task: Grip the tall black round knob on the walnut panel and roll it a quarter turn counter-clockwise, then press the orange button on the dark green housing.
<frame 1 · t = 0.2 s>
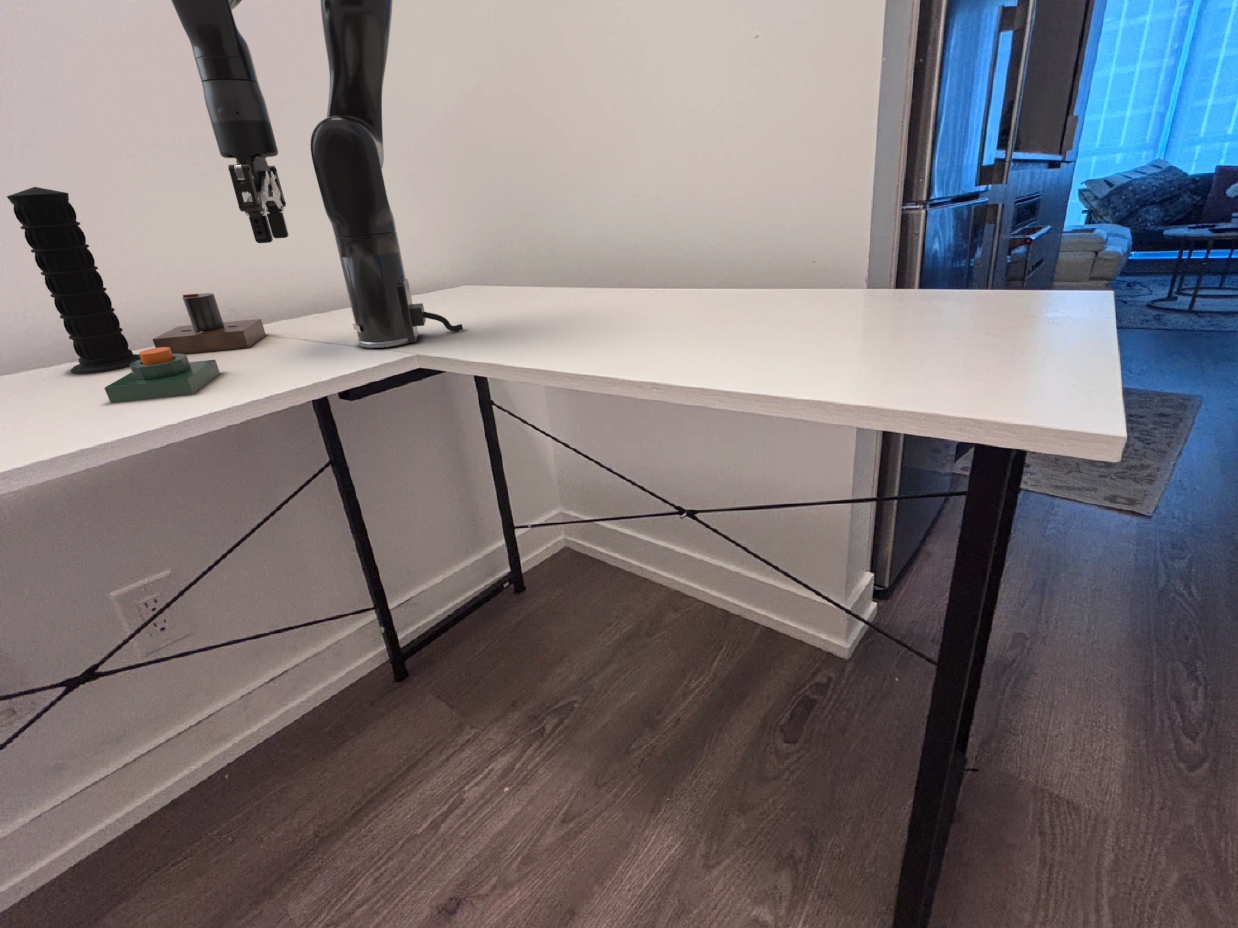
hand: (273, 240, 95), 17 cm above the table, tool pointing down, fingers open, 8 cm apart
panel: (215, 345, 110), on the table
handle grip: (110, 366, 101), on the table
button: (156, 356, 85), point 4 cm above the table, slide at 0.1 cm
dial: (203, 311, 107), point 6 cm above the table, hinge at 0.0°
button box: (168, 387, 87), on the table
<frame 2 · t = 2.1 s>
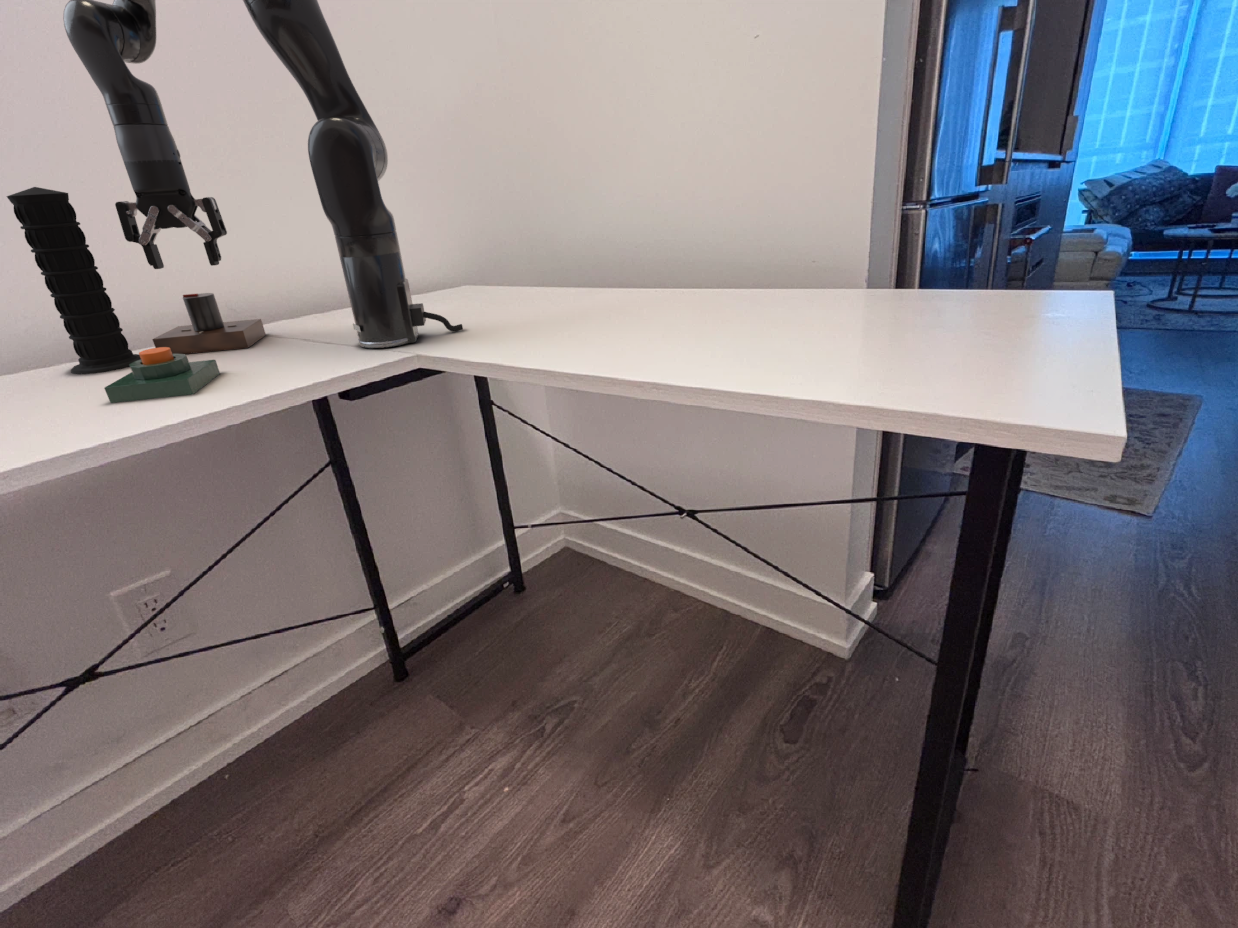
hand: (187, 266, 104), 13 cm above the table, tool pointing down, fingers open, 8 cm apart
nothing on the table moved.
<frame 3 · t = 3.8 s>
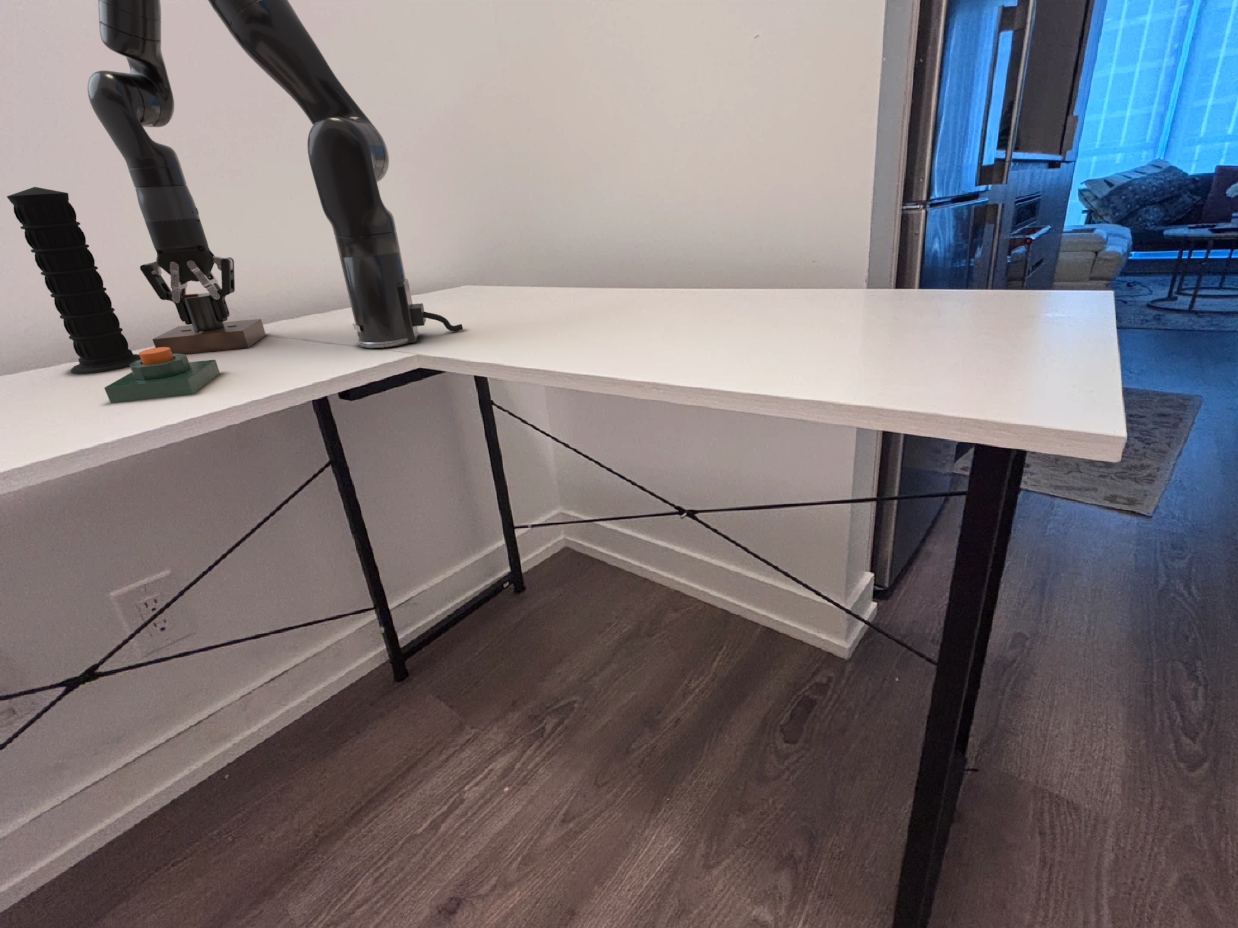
hand: (207, 321, 108), 4 cm above the table, tool pointing down, fingers closed on dial, 4 cm apart
dial: (203, 311, 107), point 6 cm above the table, hinge at -0.1°, touching gripper
everything else where it was.
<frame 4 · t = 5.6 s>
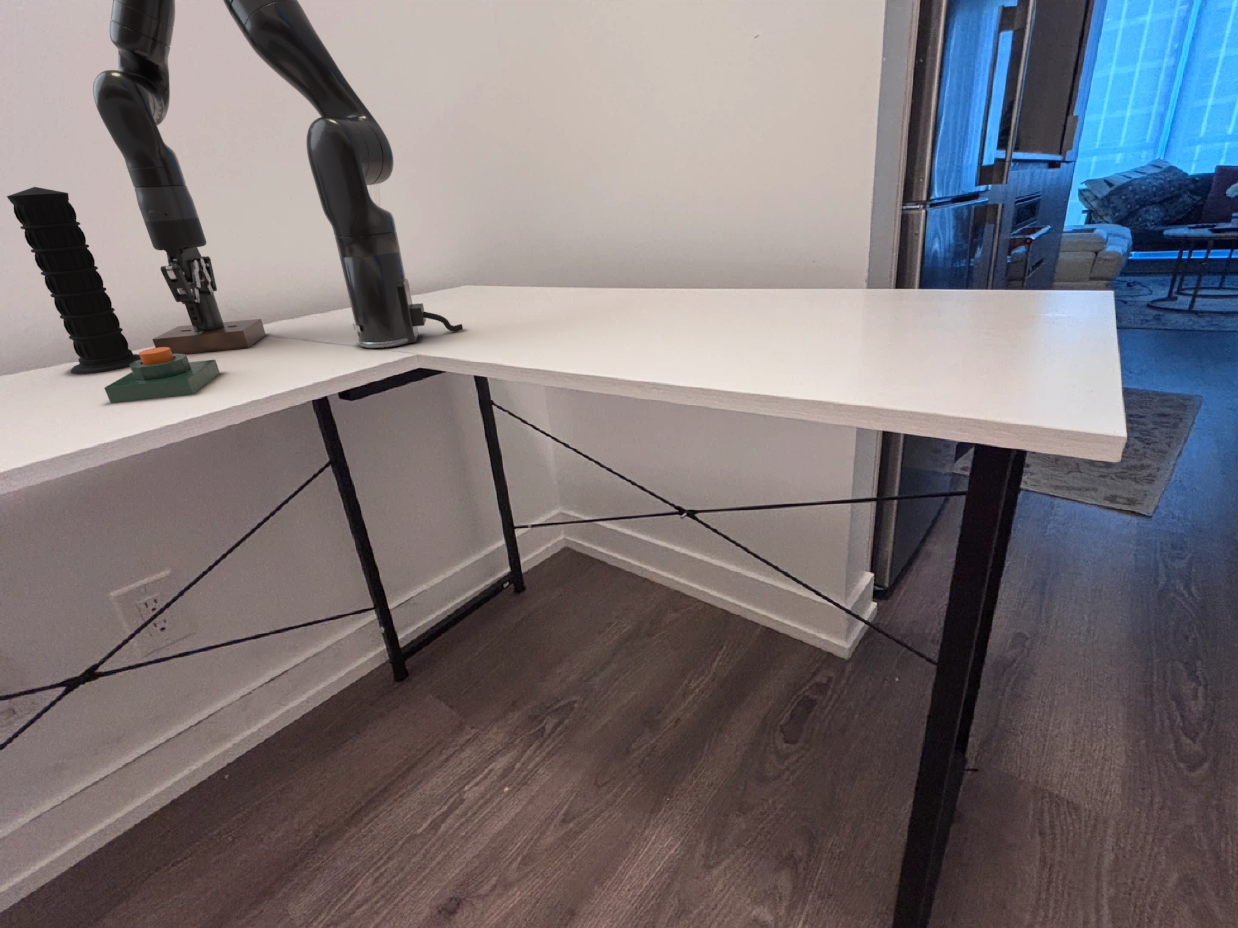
hand: (206, 321, 108), 4 cm above the table, tool pointing down, fingers closed on dial, 4 cm apart
dial: (203, 311, 107), point 6 cm above the table, hinge at 92.3°, touching gripper
everything else where it was.
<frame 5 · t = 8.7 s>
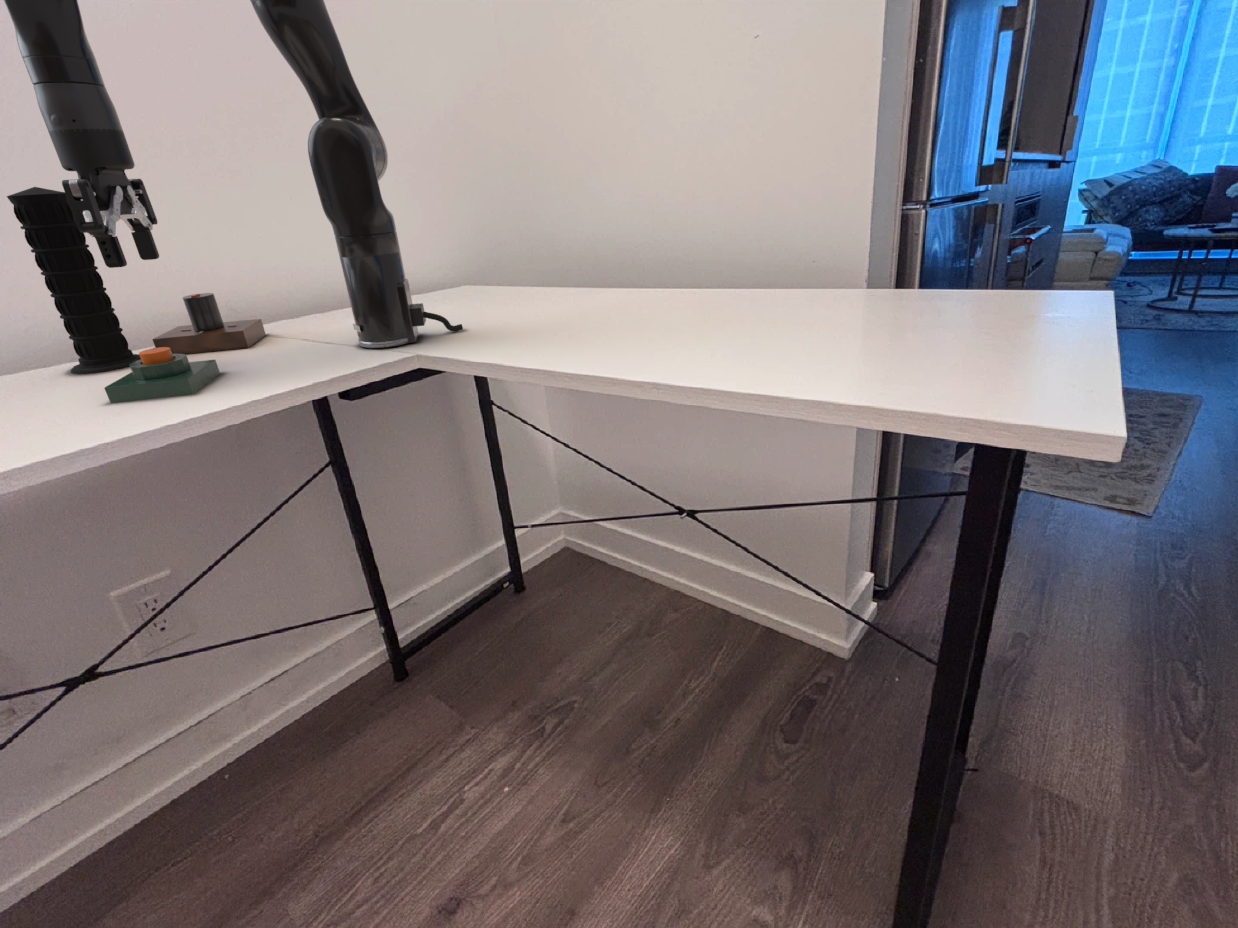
hand: (135, 262, 85), 16 cm above the table, tool pointing down, fingers open, 8 cm apart
dial: (203, 311, 107), point 6 cm above the table, hinge at 91.3°
everything else where it was.
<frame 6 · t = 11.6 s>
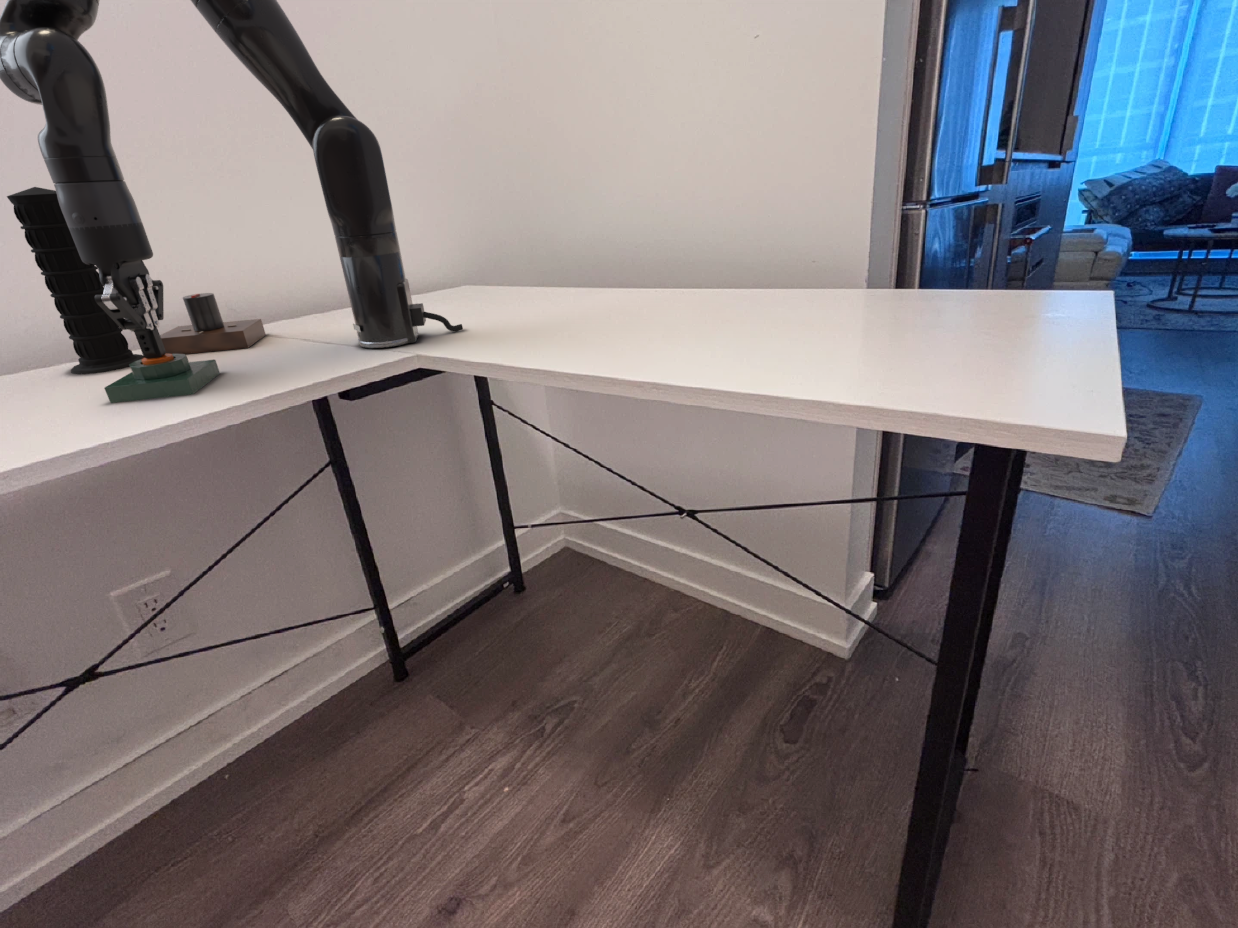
hand: (156, 356, 85), 4 cm above the table, tool pointing down, fingers closed
button: (159, 363, 86), point 4 cm above the table, slide at -0.8 cm, touching gripper
everything else where it was.
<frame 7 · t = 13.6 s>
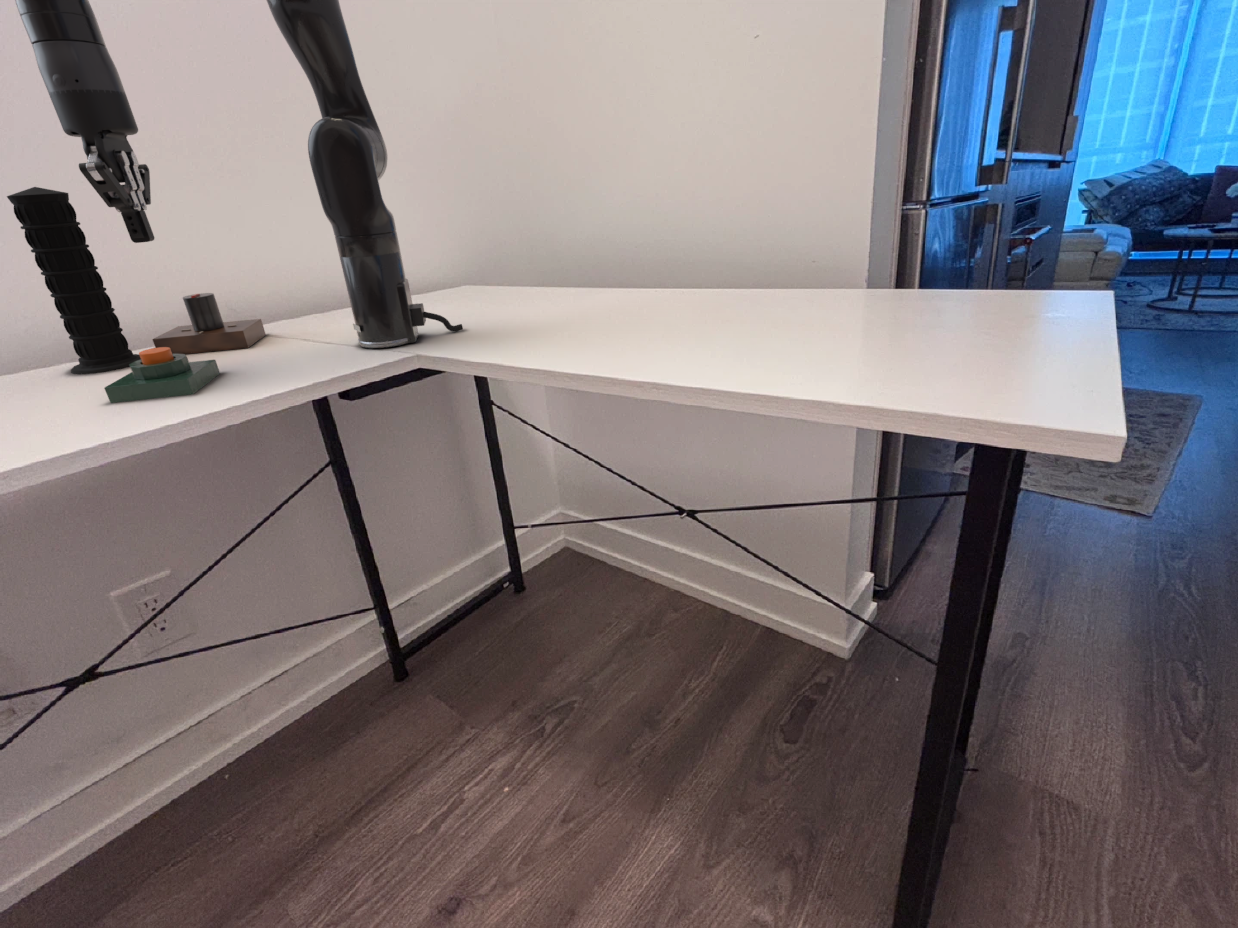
hand: (144, 241, 82), 19 cm above the table, tool pointing down, fingers closed
button: (156, 356, 85), point 4 cm above the table, slide at 0.1 cm
everything else where it was.
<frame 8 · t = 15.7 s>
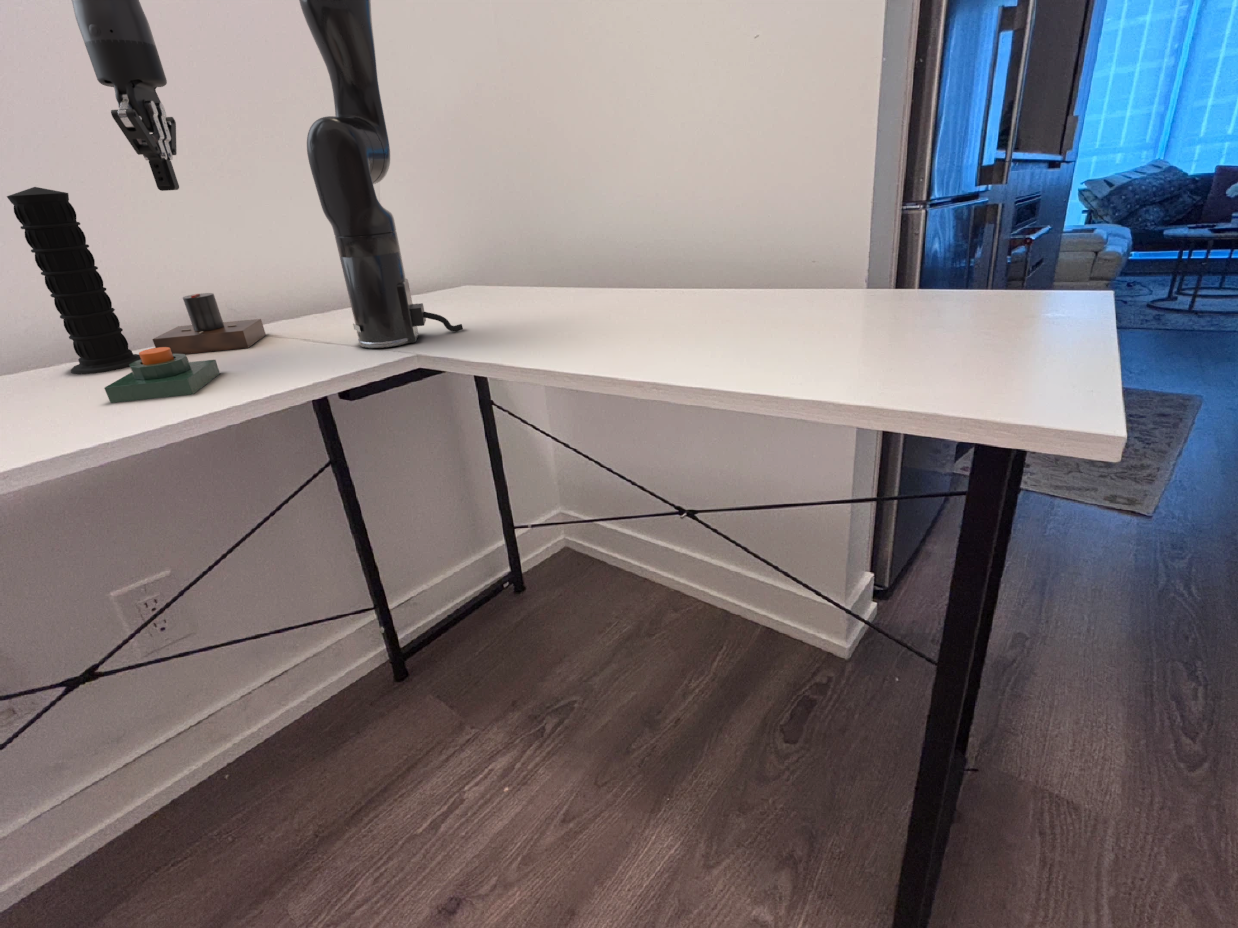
hand: (169, 190, 87), 25 cm above the table, tool pointing down, fingers closed
nothing on the table moved.
at the end: dial at +91° (first picture: +0°); button pushed in 1.1 cm at the most during the clip, back to where it started at the end; button slide at 0.1 cm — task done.
